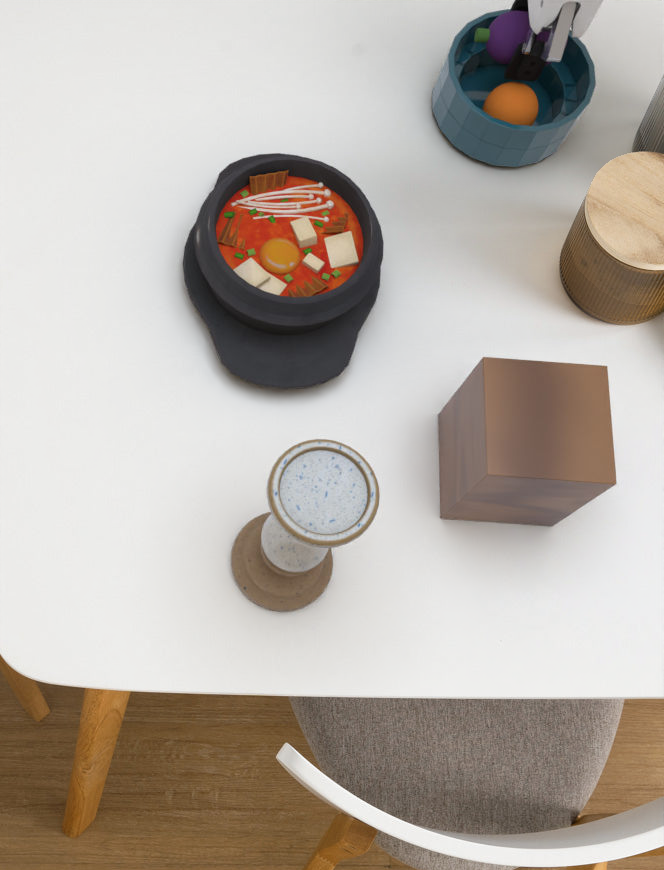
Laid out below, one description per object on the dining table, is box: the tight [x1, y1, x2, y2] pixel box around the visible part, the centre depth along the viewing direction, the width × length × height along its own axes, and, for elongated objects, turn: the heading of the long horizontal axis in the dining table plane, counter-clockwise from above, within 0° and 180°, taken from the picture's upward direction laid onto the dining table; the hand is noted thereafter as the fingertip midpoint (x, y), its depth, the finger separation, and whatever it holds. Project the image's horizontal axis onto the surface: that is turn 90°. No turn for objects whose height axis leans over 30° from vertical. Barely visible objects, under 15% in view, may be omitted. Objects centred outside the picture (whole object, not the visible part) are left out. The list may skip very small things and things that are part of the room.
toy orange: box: [483, 82, 538, 126], centre depth 95 cm, size 5×5×5 cm
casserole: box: [182, 152, 384, 390], centre depth 88 cm, size 25×19×8 cm
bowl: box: [431, 8, 597, 168], centre depth 96 cm, size 14×14×6 cm
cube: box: [437, 356, 618, 527], centre depth 81 cm, size 10×10×12 cm
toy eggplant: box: [474, 11, 568, 65], centre depth 92 cm, size 9×5×5 cm, turn 86°
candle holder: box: [230, 438, 381, 612], centre depth 74 cm, size 9×9×20 cm
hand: (519, 53), depth 94 cm, fingers closed on toy eggplant, 4 cm apart
